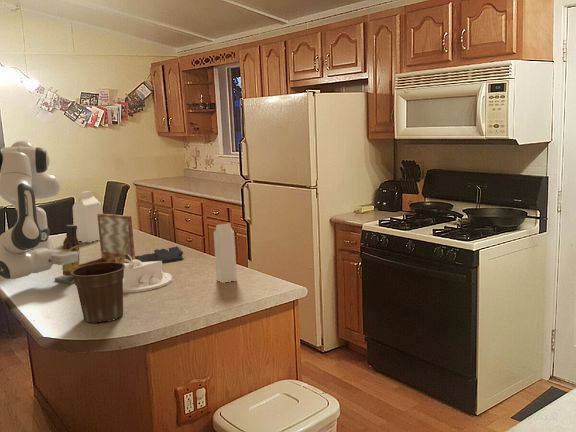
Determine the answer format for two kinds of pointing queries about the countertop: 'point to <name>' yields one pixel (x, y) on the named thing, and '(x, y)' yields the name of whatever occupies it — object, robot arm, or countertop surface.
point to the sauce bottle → (71, 248)
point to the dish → (144, 276)
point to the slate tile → (65, 279)
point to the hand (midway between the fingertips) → (72, 251)
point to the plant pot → (100, 290)
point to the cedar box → (114, 238)
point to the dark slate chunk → (162, 256)
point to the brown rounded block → (121, 260)
